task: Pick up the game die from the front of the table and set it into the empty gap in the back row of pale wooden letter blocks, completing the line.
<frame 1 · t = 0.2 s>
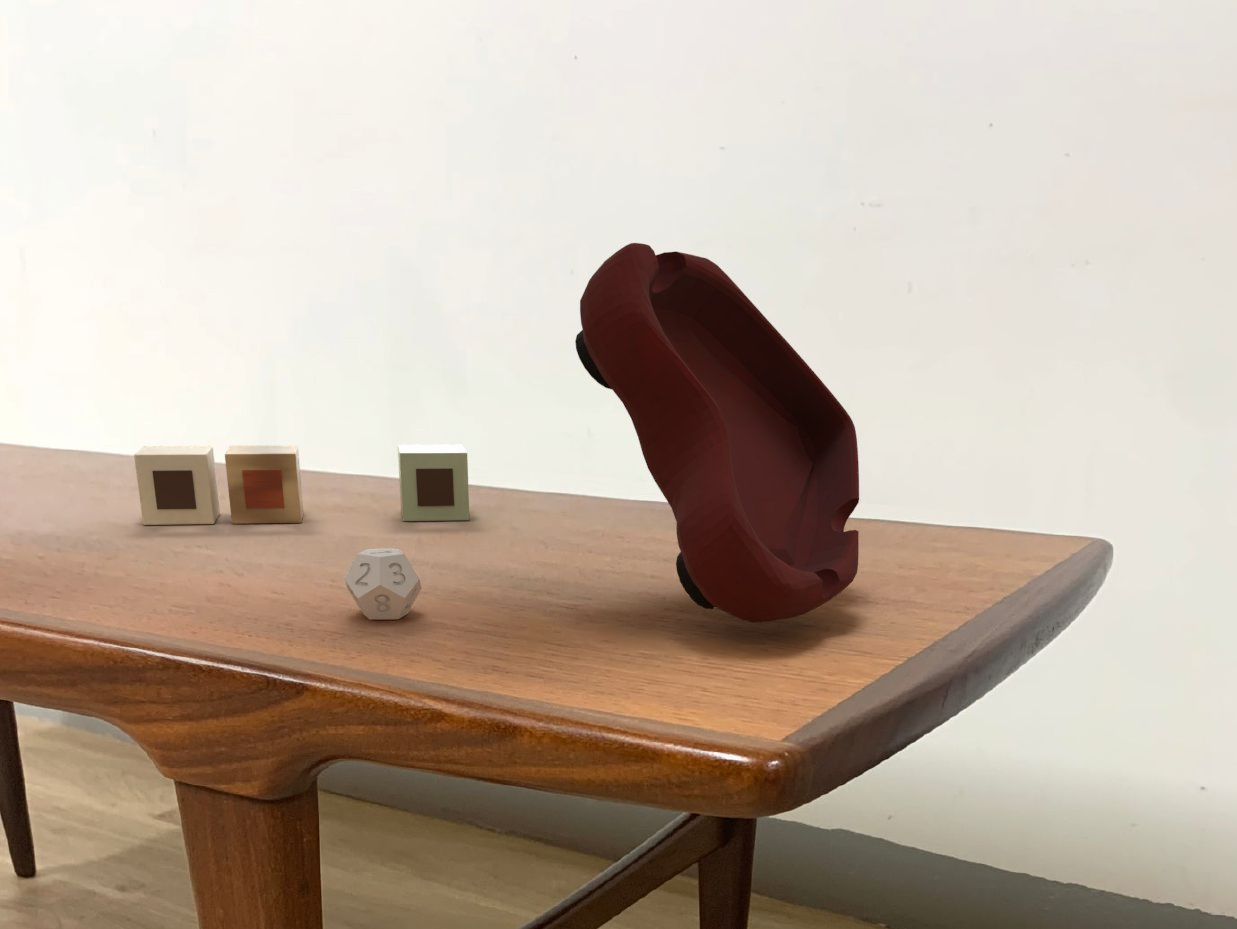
block b: (268, 517, 89), on the table
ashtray: (699, 474, 66), point 6 cm above the table
game die: (385, 618, 64), on the table
block a: (182, 519, 88), on the table
toy figure: (696, 431, 96), point 5 cm above the table
block c: (434, 515, 91), on the table
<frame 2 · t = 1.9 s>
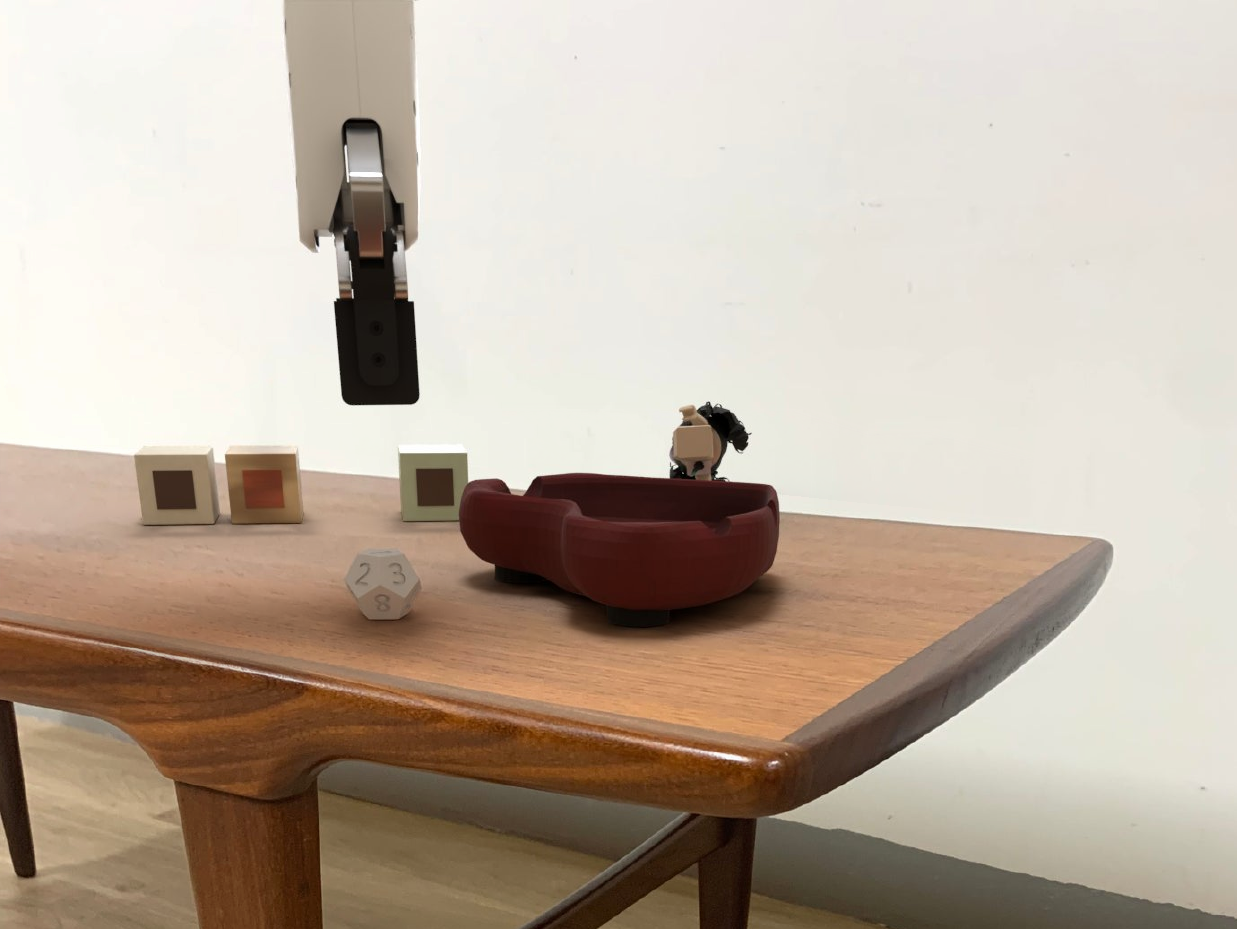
hand: (379, 395, 60), 10 cm above the table, tool pointing down, fingers open, 9 cm apart
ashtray: (650, 592, 71), on the table
toy figure: (667, 452, 96), point 4 cm above the table
everything else where it was.
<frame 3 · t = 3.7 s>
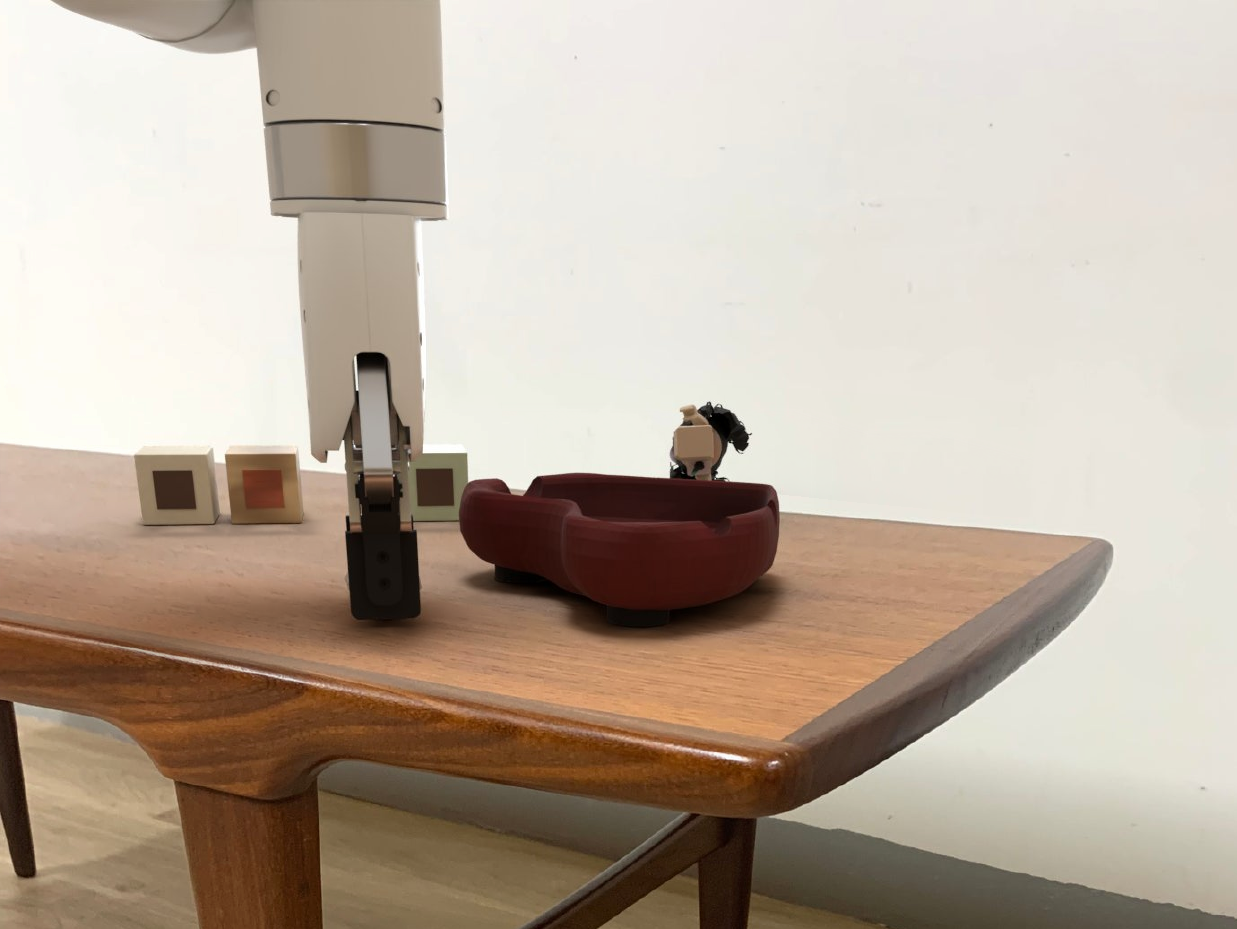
hand: (385, 603, 64), 1 cm above the table, tool pointing down, fingers closed on game die, 3 cm apart
game die: (385, 618, 64), on the table, touching gripper
everything else where it was.
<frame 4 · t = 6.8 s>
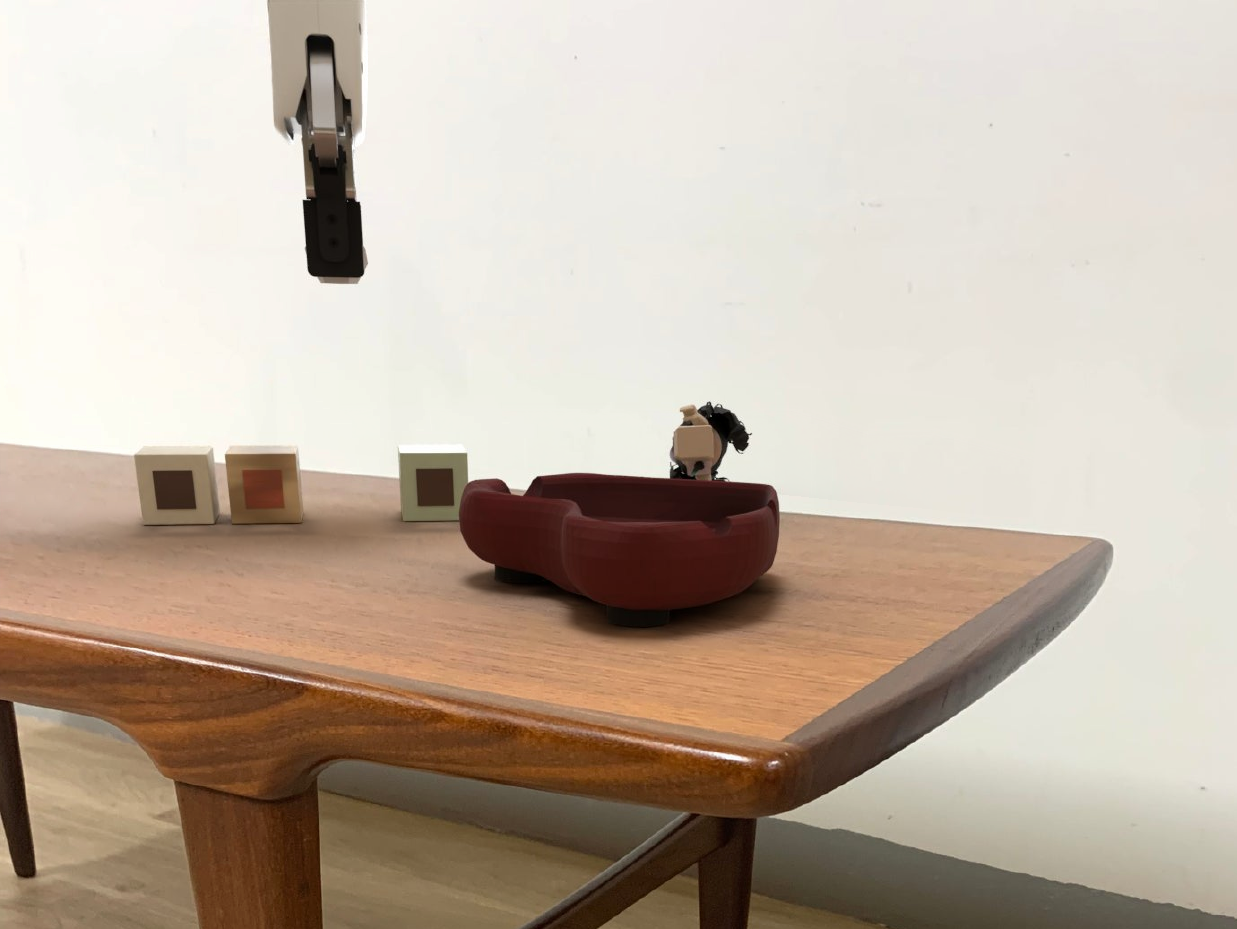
hand: (337, 273, 80), 15 cm above the table, tool pointing down, fingers closed on game die, 3 cm apart
game die: (338, 286, 80), point 14 cm above the table, touching gripper
everything else where it was.
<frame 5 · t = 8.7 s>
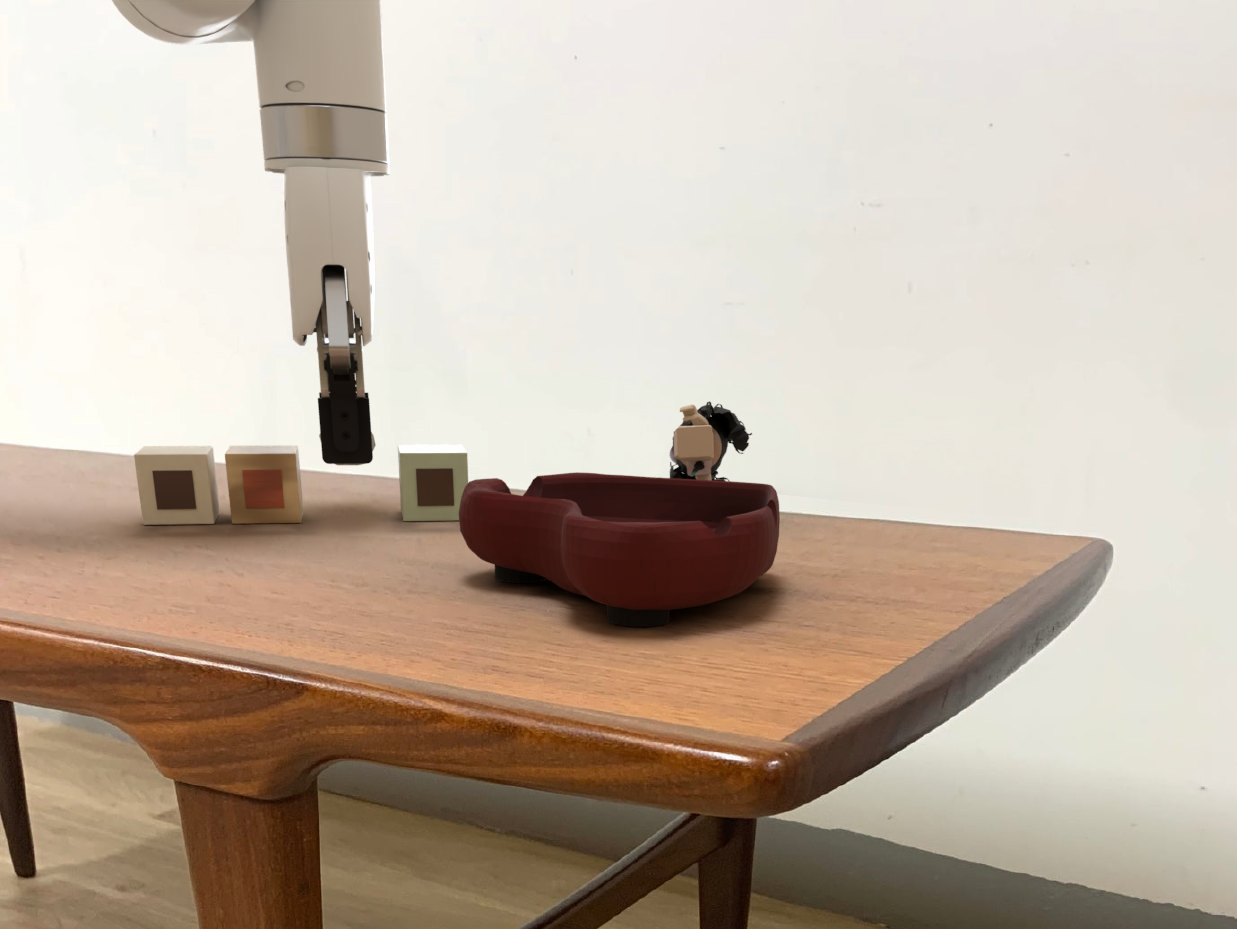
hand: (347, 455, 88), 4 cm above the table, tool pointing down, fingers closed on game die, 3 cm apart
game die: (349, 467, 89), point 3 cm above the table, touching gripper
everything else where it was.
when the fingers open (1 cm above the table, at t = 10.0 s): game die stays where it is, on the table.
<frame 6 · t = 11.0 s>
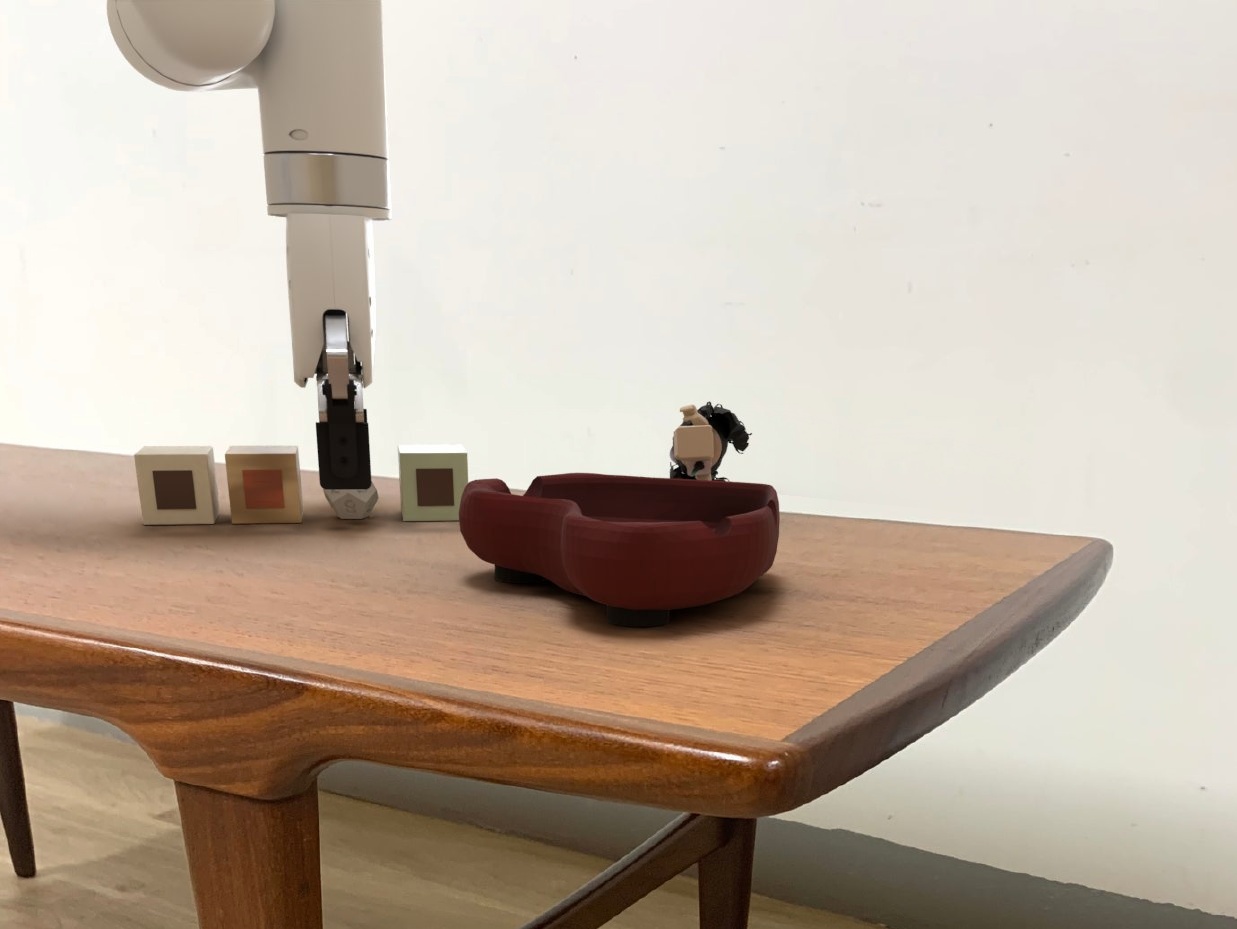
hand: (346, 478, 89), 3 cm above the table, tool pointing down, fingers open, 9 cm apart
game die: (352, 519, 90), on the table
everything else where it was.
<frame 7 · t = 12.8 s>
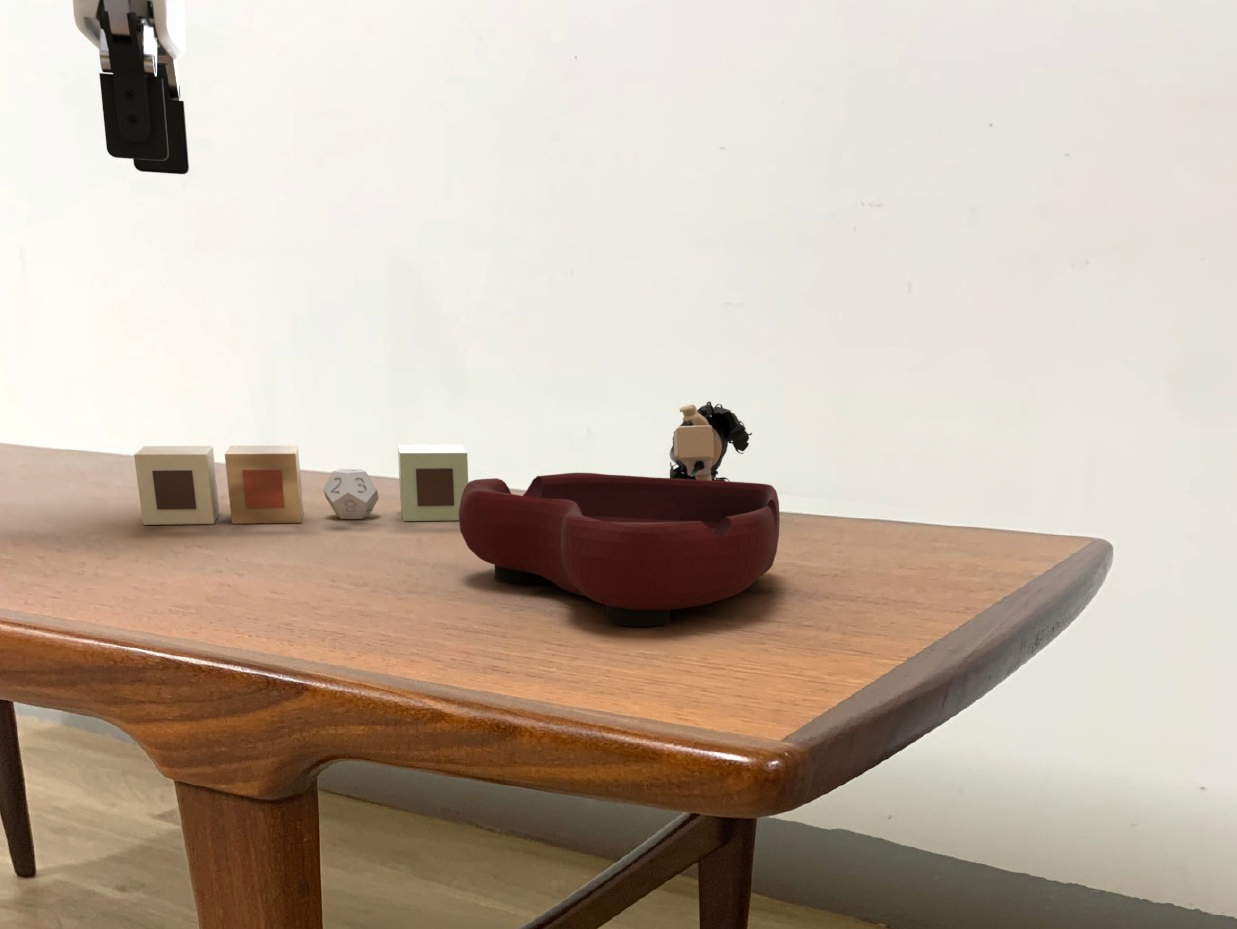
hand: (151, 165, 78), 21 cm above the table, tool pointing down, fingers open, 9 cm apart
nothing on the table moved.
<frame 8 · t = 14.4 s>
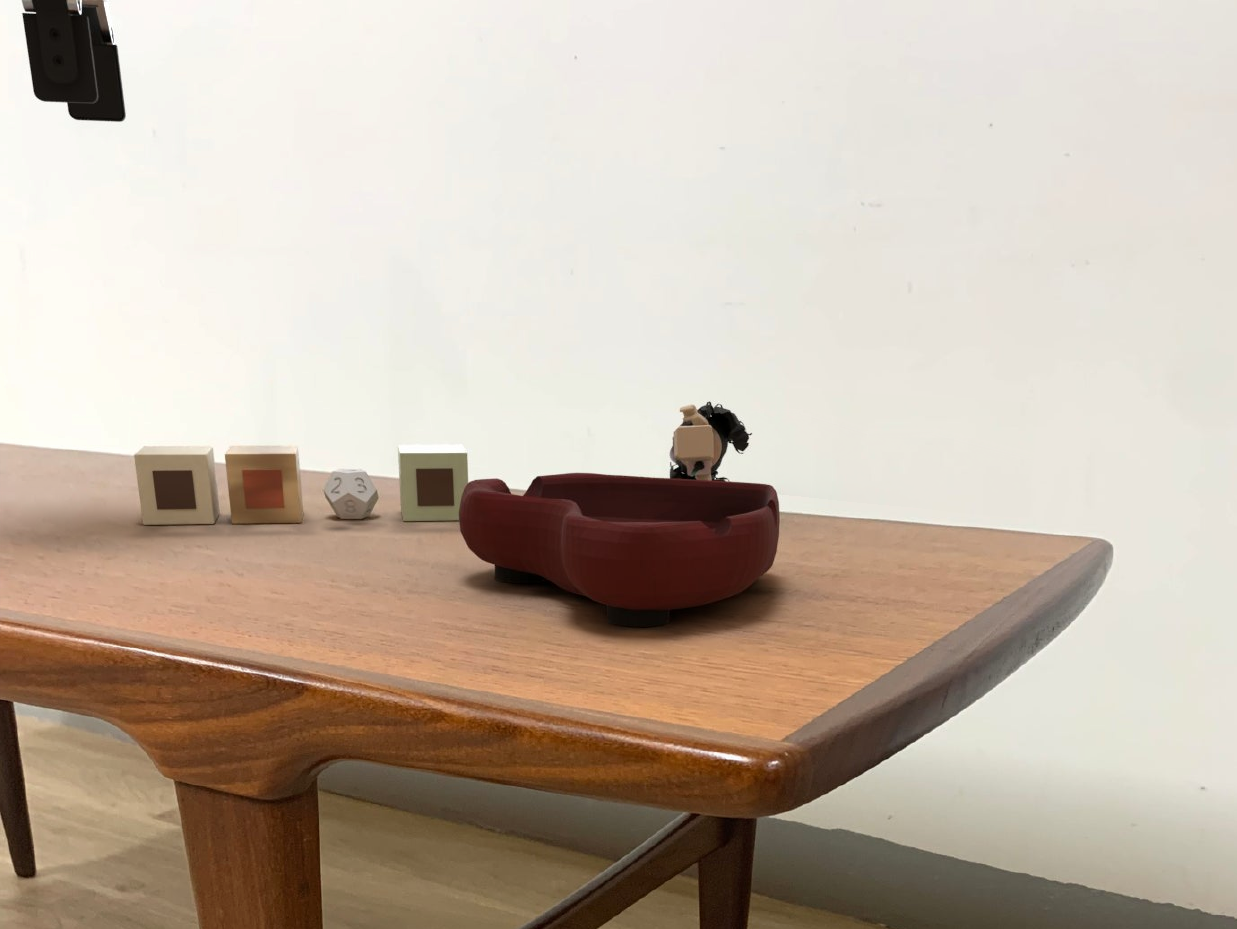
hand: (83, 111, 76), 23 cm above the table, tool pointing down, fingers open, 9 cm apart
nothing on the table moved.
at the end: game die 0.0 cm from the target spot on the table beside the block b, on the table; the gripper is holding nothing; game die tilted 0° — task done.
